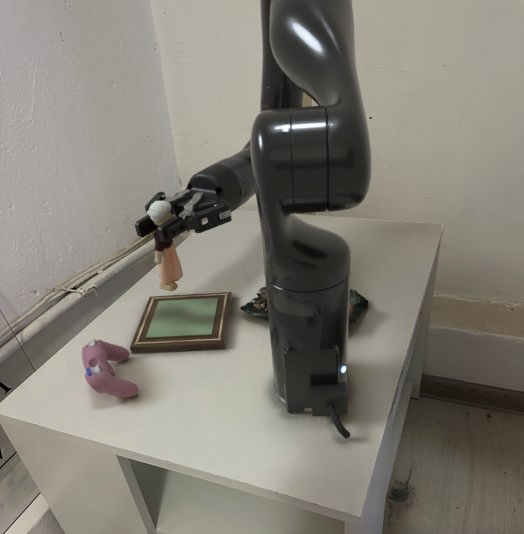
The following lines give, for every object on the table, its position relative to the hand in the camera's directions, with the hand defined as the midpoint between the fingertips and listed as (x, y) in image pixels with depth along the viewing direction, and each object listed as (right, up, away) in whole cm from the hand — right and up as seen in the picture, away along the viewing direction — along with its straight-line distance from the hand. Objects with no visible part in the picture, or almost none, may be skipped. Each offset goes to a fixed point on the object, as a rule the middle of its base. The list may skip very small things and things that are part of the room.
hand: (149, 233), depth 65 cm
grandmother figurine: (+1, -5, +8) cm, 10 cm away
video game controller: (-5, -20, +2) cm, 21 cm away
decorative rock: (+22, -10, +12) cm, 27 cm away
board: (+3, -12, +12) cm, 17 cm away
